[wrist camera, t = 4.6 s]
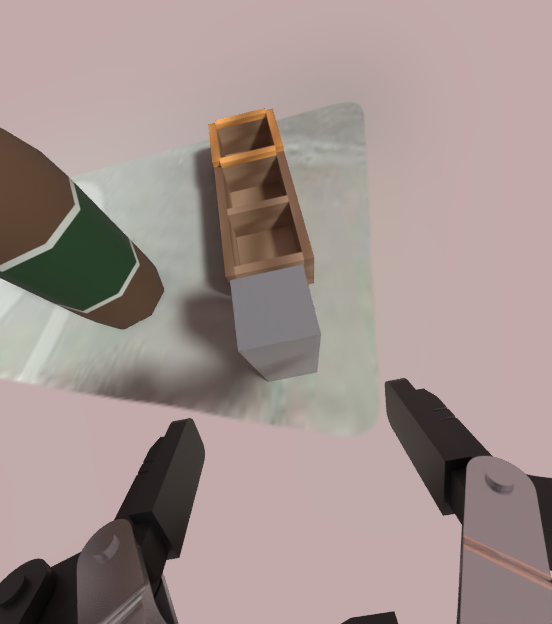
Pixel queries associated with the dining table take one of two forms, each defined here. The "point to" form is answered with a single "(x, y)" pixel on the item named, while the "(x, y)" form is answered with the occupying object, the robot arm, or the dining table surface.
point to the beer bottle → (68, 243)
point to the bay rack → (257, 198)
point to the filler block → (276, 323)
